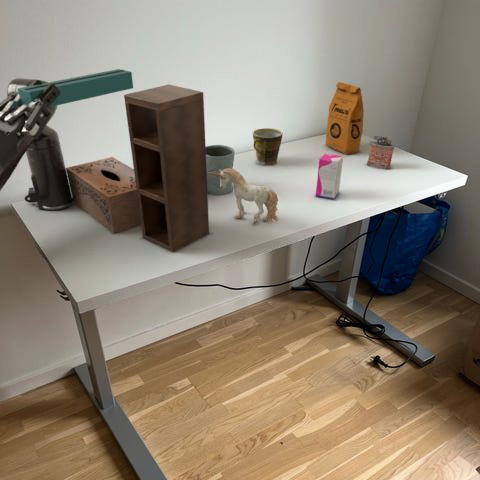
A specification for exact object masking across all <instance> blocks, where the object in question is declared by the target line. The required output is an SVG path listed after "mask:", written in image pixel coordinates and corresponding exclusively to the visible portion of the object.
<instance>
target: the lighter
mask: <svg viewBox="0 0 480 480" xmlns="http://www.w3.org/2000/svg"><path fill="white" fill-rule="evenodd" d="M372 139H373V141H370V143H369V145H370V146H369V153H368V160H367V162H366V165H367V166H368V167H372V168H376V169H380V170H390V169H391V164H392V158H393V153H394V149H395V145H394V144H393V143H392V141H393V138H390V137H388V136H387V135H384V136H382V135H377V134H374V135H373V138H372Z"/></svg>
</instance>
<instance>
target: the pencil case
mask: <svg viewBox="0 0 480 480" xmlns="http://www.w3.org/2000/svg"><path fill="white" fill-rule="evenodd" d="M47 82H48V81H47ZM50 83H52V84H55V86H56V87H57V88H58V90H59V91H60V95H59V96H58V97H57V98H56V99H55V100H54V102H53V103H52V104H51V105H50V106H49V107H52V106H57V105H58V106H60V105H65V104H69V103H73V102H78V101H82V100H87V99H88V100H89V99H91V98H96V97H101V96H104V95H105V96H106V95H109V94H114V93H118V92H123V91H127V90H132V89H134V81H133V73H132V71H129V70H125V69H120V68H116V69H112V70H107V71H102V72H95V73H89V74H84V75H80V76H75V77H70V78H63V79H60V80H53V81H49V82H48V83H43V84H38V85H33V86H27V87H22V88H18V93H19V97H20V100H21V105H24V104H26V105H28V104H30V103H31V102H32V101H33V100H35V99H36V98H38V96H39V95H40V94H41V92H42V91H43V90H44V89H45V88H46V87H47V86H48V85H49V84H50ZM58 106H57V107H58ZM34 109H35V108H33V109H32V110H34Z"/></svg>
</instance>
